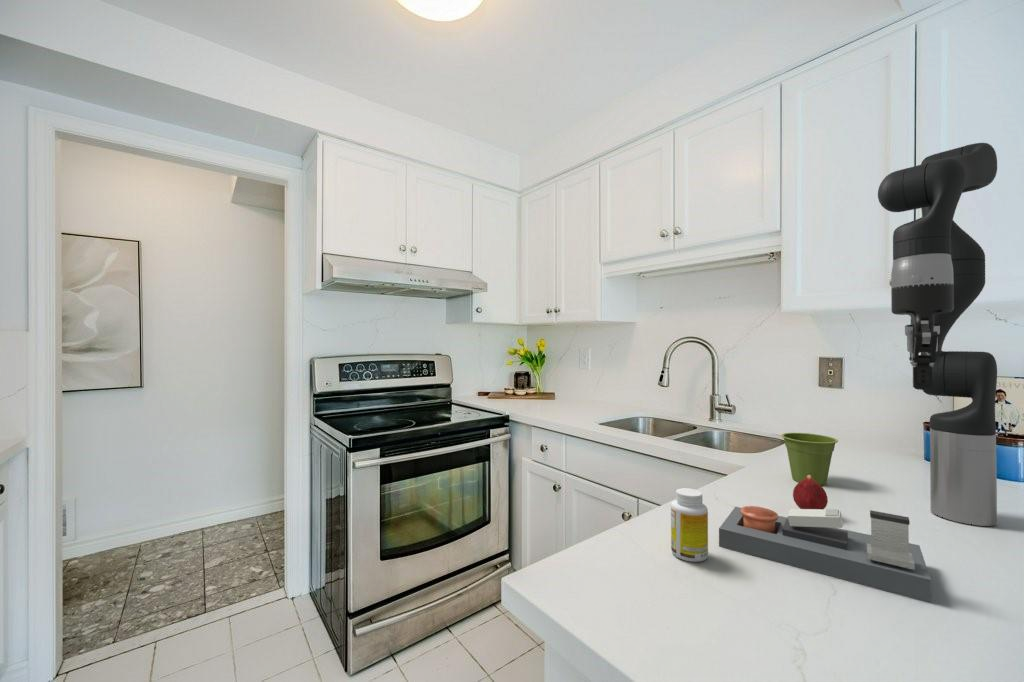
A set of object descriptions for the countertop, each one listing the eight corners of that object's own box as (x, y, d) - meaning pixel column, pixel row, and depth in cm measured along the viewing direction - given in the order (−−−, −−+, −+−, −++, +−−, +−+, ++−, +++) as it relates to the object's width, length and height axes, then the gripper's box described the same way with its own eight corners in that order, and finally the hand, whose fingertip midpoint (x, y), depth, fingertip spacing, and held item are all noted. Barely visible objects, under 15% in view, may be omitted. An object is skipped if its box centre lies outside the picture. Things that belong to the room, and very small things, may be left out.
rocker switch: (792, 518, 74) (789, 507, 74) (842, 520, 70) (839, 508, 70) (789, 526, 71) (787, 514, 71) (842, 528, 67) (839, 515, 67)
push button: (744, 527, 79) (744, 503, 79) (780, 536, 76) (779, 511, 76) (737, 538, 75) (737, 512, 75) (775, 547, 72) (775, 520, 72)
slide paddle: (866, 548, 65) (866, 507, 65) (911, 558, 62) (911, 515, 62) (867, 558, 62) (866, 515, 62) (914, 569, 59) (914, 524, 59)
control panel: (735, 522, 84) (735, 501, 84) (919, 564, 68) (919, 538, 68) (719, 546, 73) (718, 522, 74) (931, 602, 57) (930, 572, 57)
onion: (833, 522, 84) (833, 480, 84) (800, 519, 85) (800, 478, 85) (818, 511, 90) (818, 472, 90) (788, 508, 91) (788, 470, 91)
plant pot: (770, 476, 114) (770, 433, 114) (807, 473, 117) (806, 431, 117) (811, 490, 103) (811, 443, 103) (850, 487, 105) (850, 440, 106)
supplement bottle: (715, 559, 69) (715, 494, 69) (690, 566, 67) (690, 499, 67) (687, 544, 74) (687, 484, 74) (663, 551, 72) (663, 489, 72)
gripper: (961, 277, 64) (962, 394, 64) (946, 287, 75) (947, 388, 75) (894, 282, 69) (895, 390, 69) (888, 290, 79) (889, 385, 79)
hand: (922, 389), depth 72 cm, fingers closed
